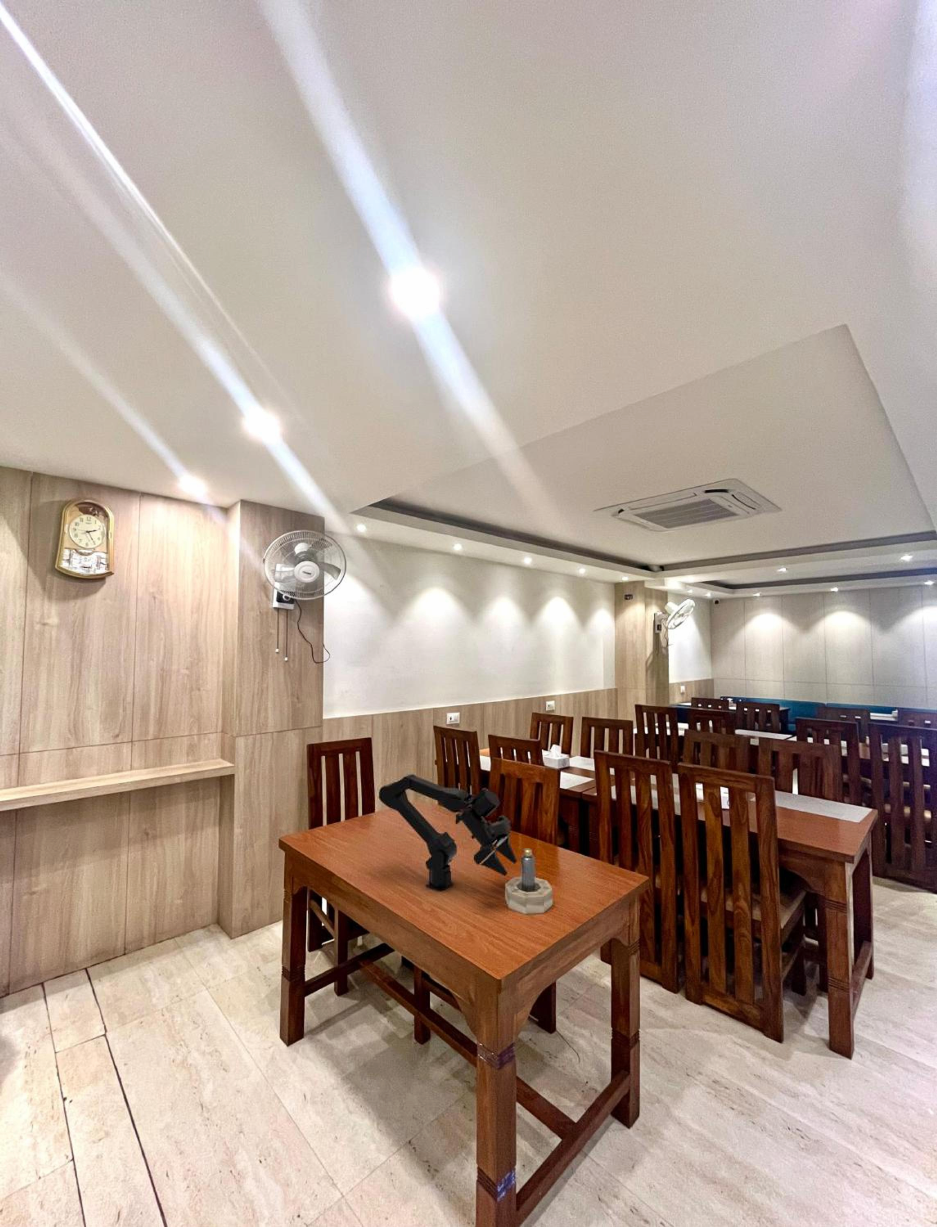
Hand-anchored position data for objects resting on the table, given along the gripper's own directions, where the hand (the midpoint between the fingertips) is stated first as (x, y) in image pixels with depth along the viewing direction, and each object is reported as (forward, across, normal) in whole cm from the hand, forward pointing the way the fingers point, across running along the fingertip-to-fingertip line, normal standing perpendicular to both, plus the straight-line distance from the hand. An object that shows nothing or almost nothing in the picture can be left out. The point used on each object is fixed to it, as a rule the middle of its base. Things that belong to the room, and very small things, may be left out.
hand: (511, 868), depth 152 cm
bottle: (+10, 0, +2) cm, 10 cm away
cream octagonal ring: (+10, 0, +2) cm, 10 cm away
